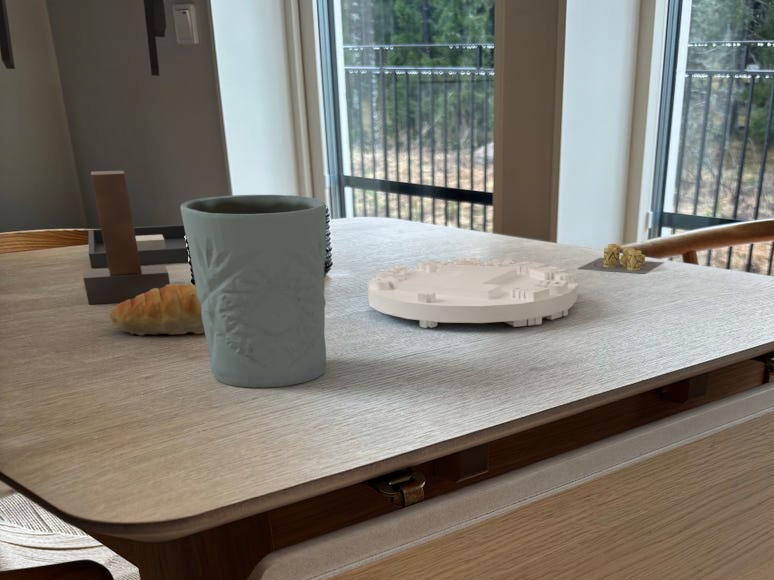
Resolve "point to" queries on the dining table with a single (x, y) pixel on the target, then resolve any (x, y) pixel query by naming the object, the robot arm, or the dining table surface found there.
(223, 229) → the grey-green embossed cup
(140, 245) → the beige square block
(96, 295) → the brown grey t-shaped piece
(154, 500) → the dining table surface
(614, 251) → the dice set
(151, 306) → the pastry
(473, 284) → the white round plaque
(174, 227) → the tray
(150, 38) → the robot arm
